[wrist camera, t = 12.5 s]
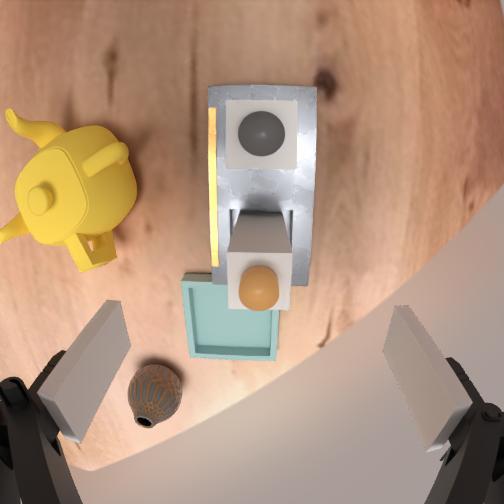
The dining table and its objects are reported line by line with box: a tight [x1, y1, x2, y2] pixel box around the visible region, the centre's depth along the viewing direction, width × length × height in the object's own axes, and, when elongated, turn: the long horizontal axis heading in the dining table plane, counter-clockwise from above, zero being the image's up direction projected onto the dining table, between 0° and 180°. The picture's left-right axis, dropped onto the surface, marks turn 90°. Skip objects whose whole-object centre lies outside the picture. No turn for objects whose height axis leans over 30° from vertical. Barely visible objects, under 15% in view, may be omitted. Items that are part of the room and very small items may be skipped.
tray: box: [181, 273, 279, 361], centre depth 33 cm, size 10×10×2 cm
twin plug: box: [226, 100, 298, 170], centre depth 21 cm, size 4×4×12 cm
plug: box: [227, 211, 293, 311], centre depth 24 cm, size 4×4×12 cm
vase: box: [128, 364, 182, 428], centre depth 34 cm, size 7×7×9 cm
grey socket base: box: [208, 85, 317, 286], centre depth 27 cm, size 9×18×4 cm, turn 0°
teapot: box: [0, 108, 137, 273], centre depth 25 cm, size 14×13×10 cm
